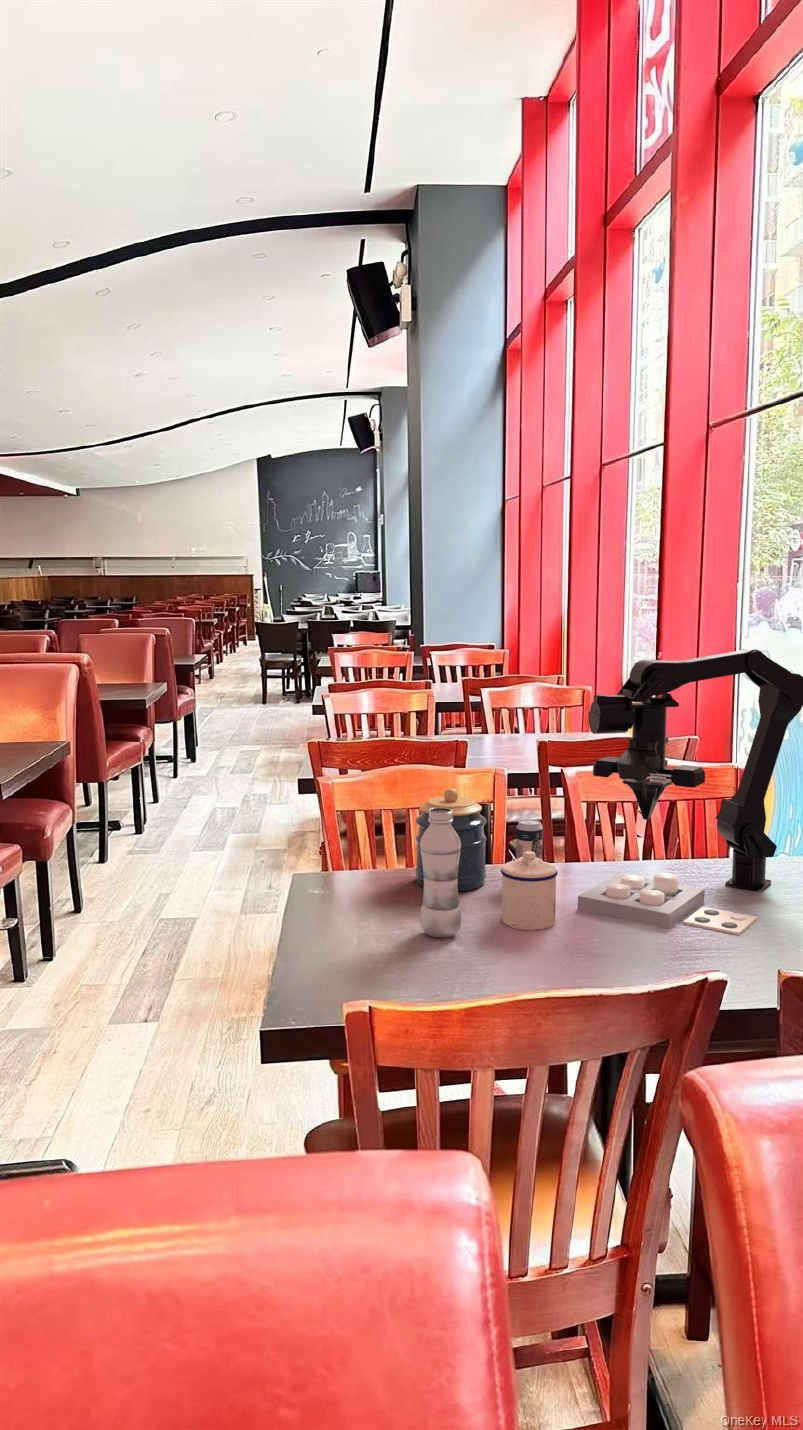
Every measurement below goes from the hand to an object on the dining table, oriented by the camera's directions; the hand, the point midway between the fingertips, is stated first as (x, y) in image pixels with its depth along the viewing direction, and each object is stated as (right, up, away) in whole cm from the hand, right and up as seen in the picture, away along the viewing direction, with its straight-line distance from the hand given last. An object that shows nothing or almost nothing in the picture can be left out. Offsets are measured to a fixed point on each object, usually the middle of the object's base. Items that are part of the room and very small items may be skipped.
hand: (646, 819), depth 176 cm
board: (-3, -14, -7) cm, 16 cm away
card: (+8, -15, -15) cm, 23 cm away
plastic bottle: (-37, -16, -20) cm, 45 cm away
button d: (-2, -14, -11) cm, 18 cm away
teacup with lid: (-23, -15, -13) cm, 31 cm away
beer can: (-20, -13, +4) cm, 24 cm away
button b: (+2, -12, -6) cm, 14 cm away
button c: (-7, -14, -8) cm, 17 cm away
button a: (-3, -13, -3) cm, 14 cm away
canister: (-34, -13, +7) cm, 37 cm away
